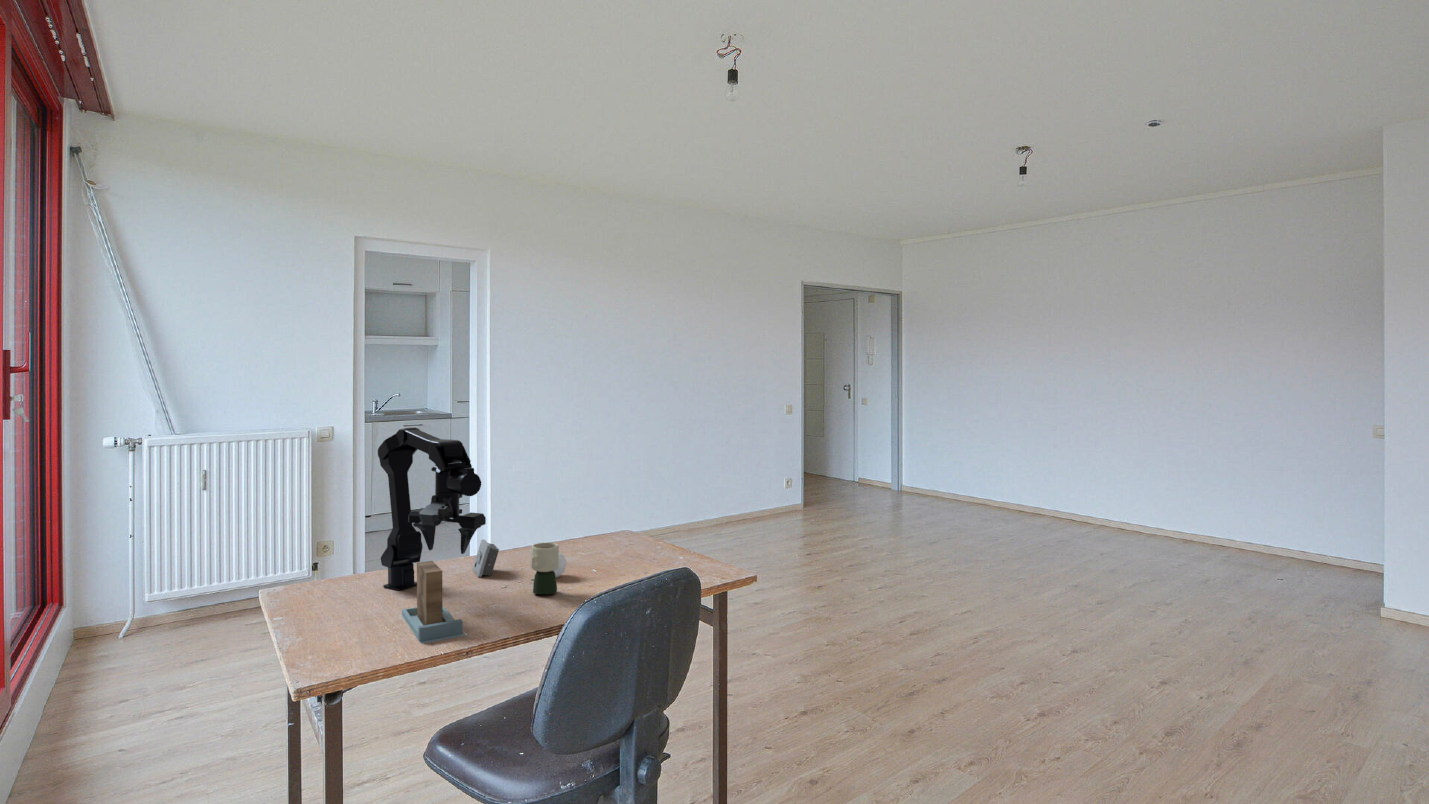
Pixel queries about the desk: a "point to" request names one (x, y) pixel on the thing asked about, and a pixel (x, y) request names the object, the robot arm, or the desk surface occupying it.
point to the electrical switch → (485, 559)
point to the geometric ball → (560, 565)
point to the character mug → (545, 567)
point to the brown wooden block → (429, 593)
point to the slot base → (433, 626)
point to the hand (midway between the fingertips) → (446, 551)
